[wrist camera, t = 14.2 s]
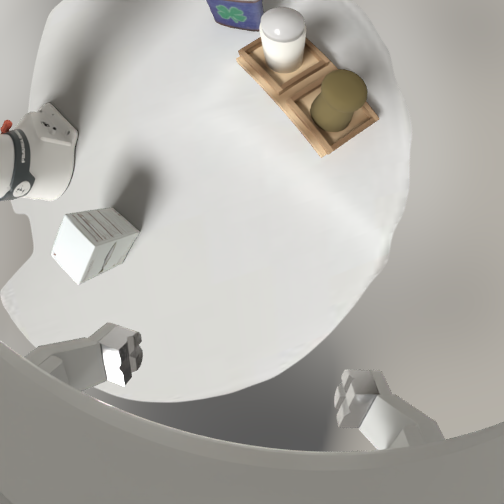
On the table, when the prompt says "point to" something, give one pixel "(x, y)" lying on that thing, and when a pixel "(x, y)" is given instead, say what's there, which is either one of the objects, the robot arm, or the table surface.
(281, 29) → the salt shaker
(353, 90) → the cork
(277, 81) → the caddy
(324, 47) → the table surface
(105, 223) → the supplement box
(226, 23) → the flask
